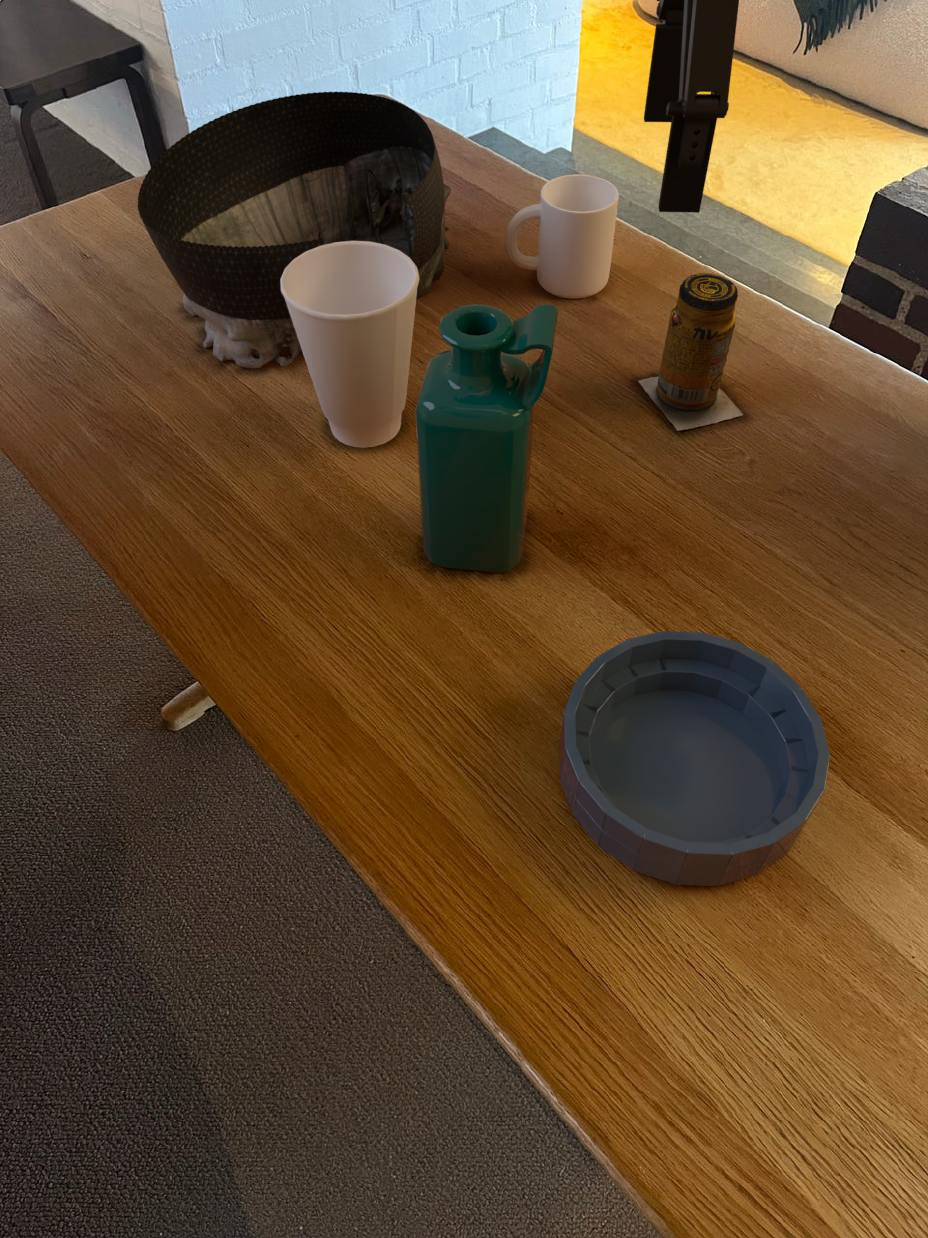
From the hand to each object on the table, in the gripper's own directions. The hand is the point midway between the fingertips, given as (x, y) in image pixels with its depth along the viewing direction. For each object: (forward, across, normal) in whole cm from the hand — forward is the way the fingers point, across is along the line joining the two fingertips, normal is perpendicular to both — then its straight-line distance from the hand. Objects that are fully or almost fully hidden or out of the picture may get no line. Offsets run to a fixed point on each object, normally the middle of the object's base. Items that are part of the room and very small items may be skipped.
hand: (669, 162), depth 69 cm
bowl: (+28, +35, +2) cm, 44 cm away
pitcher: (+28, +12, -13) cm, 33 cm away
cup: (+28, -3, -25) cm, 37 cm away
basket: (+28, -25, -32) cm, 49 cm away
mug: (+28, -29, -6) cm, 41 cm away
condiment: (+28, -8, +7) cm, 30 cm away
